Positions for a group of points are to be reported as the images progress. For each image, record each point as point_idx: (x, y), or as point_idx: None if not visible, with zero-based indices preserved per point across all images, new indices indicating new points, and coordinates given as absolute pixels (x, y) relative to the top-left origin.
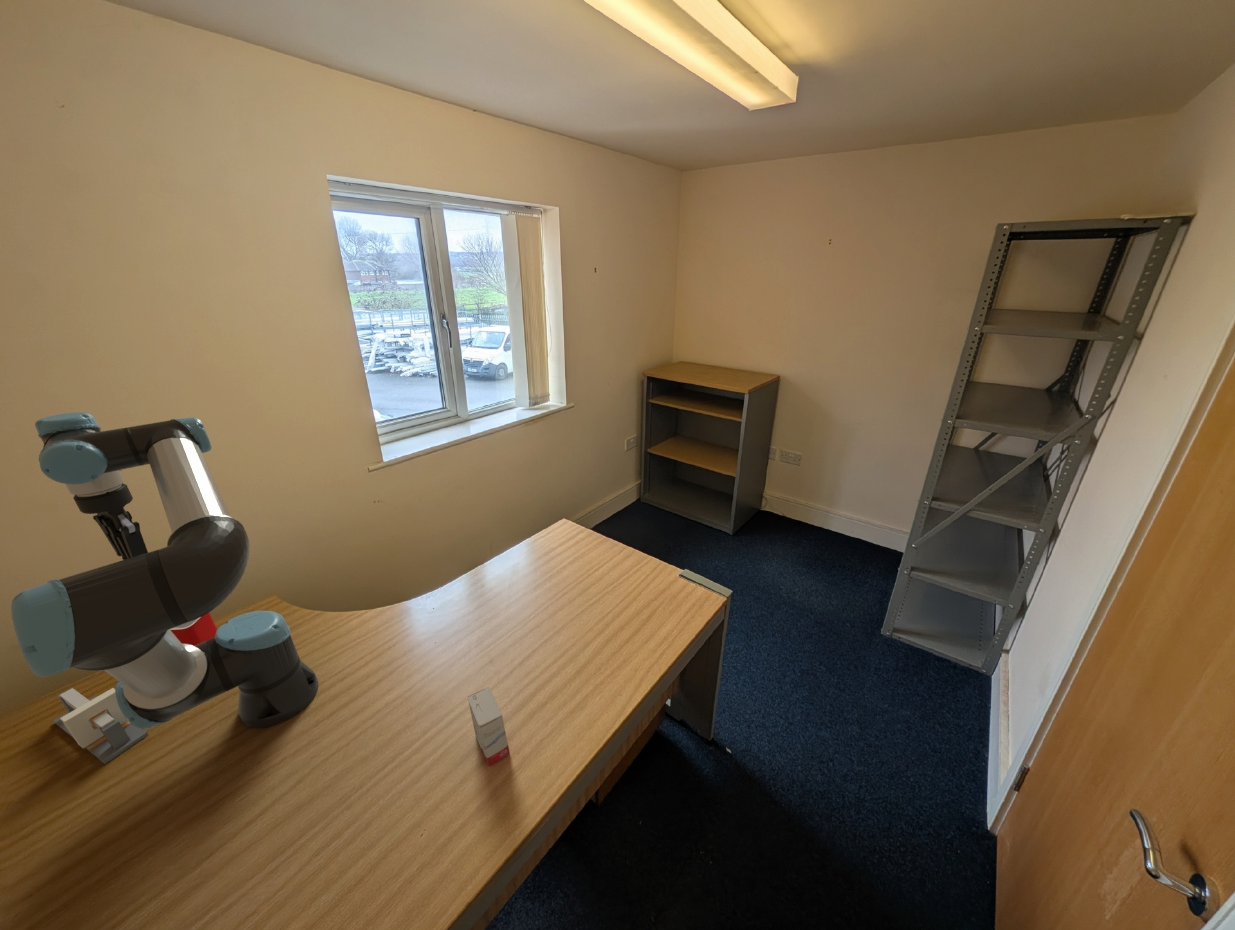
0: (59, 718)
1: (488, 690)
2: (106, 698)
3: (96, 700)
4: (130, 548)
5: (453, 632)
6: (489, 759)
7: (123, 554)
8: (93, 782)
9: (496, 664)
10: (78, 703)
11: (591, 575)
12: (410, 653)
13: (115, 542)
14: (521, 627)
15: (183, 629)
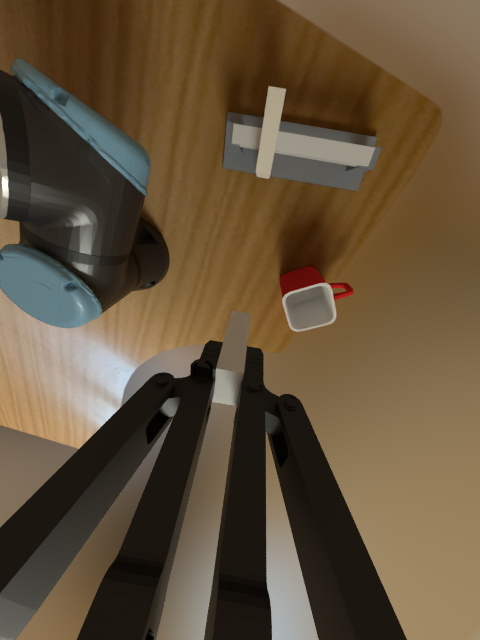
0: (370, 143)
1: None
2: (258, 154)
3: (266, 143)
4: (80, 451)
5: (74, 352)
6: None
7: (239, 405)
8: (212, 86)
9: (9, 330)
10: (321, 145)
11: (40, 417)
12: (82, 326)
13: (248, 482)
14: (32, 365)
15: (287, 292)
